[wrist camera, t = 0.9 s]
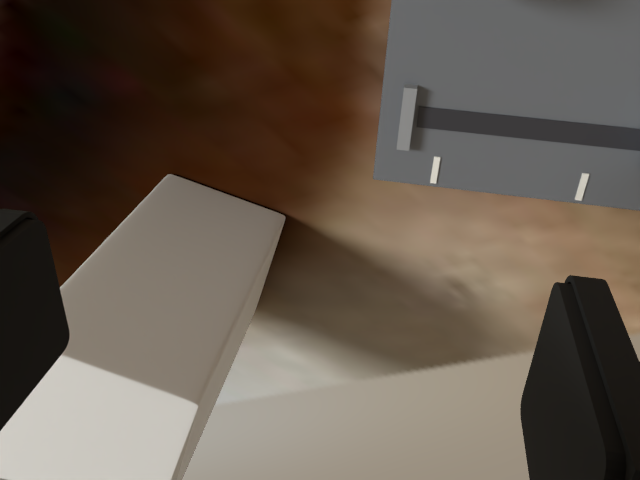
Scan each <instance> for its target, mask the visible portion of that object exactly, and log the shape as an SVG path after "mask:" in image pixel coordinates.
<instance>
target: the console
mask: <svg viewBox="0 0 640 480" xmlns="http://www.w3.org/2000/svg"><path fill="white" fill-rule="evenodd" d="M373 179H376V180H384V181H393V182H401V183H410V184H418V185H427V186H435V187H444V188H452V189H461V190H469V191H478V192H486V193H495V194H503V195H512V196H520V197H529V198H537V199H546V200H554V201H563V202H571V203H580V204H588V205H597V206H605V207H614V208H622V209H631V210H639V211H640V0H392V4H391V13H390V23H389V32H388V42H387V51H386V61H385V70H384V80H383V89H382V99H381V108H380V118H379V127H378V137H377V146H376V156H375V165H374V175H373Z"/></svg>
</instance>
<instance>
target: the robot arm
mask: <svg viewBox="0 0 640 480" xmlns="http://www.w3.org/2000/svg"><path fill="white" fill-rule="evenodd" d="M69 337H70V332H69V327H68V322H67V318H66V314H65V309H64V305H63V300H62V296H61V292H60V287H59V283H58V279H57V274H56V270H55V265H54V261H53V257H52V252H51V248H50V244H49V239H48V235H47V230H46V227H45V225H44V223H43V222H41V221H39V220H38V218H37V217H36V215H35V214H34V213H32V212H27V211H18V210H10V209H0V431H1V430H2V428H3V427H4V426H5V425H6V423H7V422H8V421H9V420H10V418H11V417H12V416H13V415H14V413H15V412H16V411H17V410H18V408H19V407H20V406H21V405H22V403H23V402H24V401H25V400H26V398H27V397H28V396H29V395H30V393H31V392H32V391H33V390H34V388H35V387H36V386H37V385H38V383H39V382H40V381H41V380H42V378H43V377H44V376H45V375H46V373H47V372H48V371H49V370H50V368H51V367H52V366H53V364H54V363H55V362H56V361H57V359H58V358H59V357H60V356H61V354H62V353H63V352H64V351H65V349H66V347H67V345H68V342H69ZM521 422H522V429H523V436H524V443H525V449H526V457H527V464H528V471H529V478H530V480H640V362H639V360H638V358H637V355H636V353H635V350H634V348H633V345H632V343H631V340H630V338H629V336H628V333H627V331H626V328H625V326H624V323H623V321H622V318H621V316H620V313H619V311H618V308H617V306H616V303H615V301H614V298H613V296H612V294H611V291H610V289H609V286H608V284H607V282H606V280H603V279H596V278H588V277H579V276H571V275H570V276H568V277H567V279H566V280H565V283H558V282H556V283H555V284H554V285H553V288H552V291H551V294H550V298H549V301H548V305H547V309H546V312H545V316H544V319H543V323H542V327H541V330H540V334H539V337H538V341H537V345H536V348H535V352H534V355H533V359H532V363H531V367H530V370H529V373H528V377H527V380H526V384H525V388H524V391H523V395H522V400H521ZM0 480H7V479H2V478H0Z"/></svg>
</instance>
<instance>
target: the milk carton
mask: <svg viewBox="0 0 640 480" xmlns="http://www.w3.org/2000/svg"><path fill="white" fill-rule="evenodd" d="M285 219H286V217H285V216H284V215H282V214H280V213H278V212H275V211H272V210H269V209H267V208H264V207H261V206H258V205H256V204H253V203H250V202H247V201H245V200H242V199H239V198H236V197H234V196H231V195H228V194H225V193H223V192H220V191H217V190H214V189H212V188H209V187H206V186H203V185H201V184H198V183H195V182H192V181H190V180H187V179H184V178H181V177H178V176H175V175H172V174H169V175H167V176H166V177H165V178H164V179H163V180H162V181H161V182H160V183H159V184H158V185H157V186H156V187H155V188H154V189H153V190H152V191H151V193H150V194H149V195H148V196H147V197H146V198H145V199H144V200H143V201H142V202H141V203H140V204H139V205H138V206H137V207H136V208H135V209H134V210H133V212H132V213H131V214H130V215H129V216H128V217H127V218H126V219H125V220H124V221H123V222H122V223H121V224H120V225H119V226H118V227H117V228H116V229H115V230H114V232H113V233H112V234H111V235H110V236H109V237H108V238H107V239H106V240H105V241H104V242H103V243H102V244H101V245H100V246H99V247H98V248H97V249H96V250H95V252H94V253H93V254H92V255H91V256H90V257H89V258H88V259H87V260H86V261H85V262H84V263H83V264H82V265H81V266H80V267H79V268H78V269H77V270H76V272H75V273H74V274H73V275H72V276H71V277H70V278H69V279H68V280H67V281H66V282H65V283H64V284H63V285H62V286H61V287H60V292H61V296H62V300H63V305H64V309H65V314H66V318H67V322H68V327H69V332H70V337H69V342H68V345H67V347H66V349H65V351H64V352H63V353H62V354H61V356H60V357H59V358H58V359H57V361H56V362H55V363H54V364H53V366H52V367H51V368H50V370H49V371H48V372H47V373H46V375H45V376H44V377H43V378H42V380H41V381H40V382H39V383H38V385H37V386H36V387H35V388H34V390H33V391H32V392H31V393H30V395H29V396H28V397H27V398H26V400H25V401H24V402H23V403H22V405H21V406H20V407H19V408H18V410H17V411H16V412H15V413H14V415H13V416H12V417H11V418H10V420H9V421H8V422H7V423H6V425H5V426H4V427H3V428H2V430H1V431H0V478H2V479H7V480H182V478H183V476H184V474H185V472H186V469H187V467H188V465H189V462H190V460H191V458H192V456H193V453H194V451H195V449H196V446H197V444H198V442H199V439H200V437H201V435H202V433H203V430H204V428H205V425H206V423H207V421H208V418H209V416H210V414H211V412H212V410H213V407H214V405H215V403H216V400H217V398H218V396H219V393H220V391H221V389H222V387H223V384H224V382H225V380H226V377H227V375H228V373H229V370H230V368H231V366H232V364H233V361H234V359H235V357H236V354H237V352H238V350H239V347H240V345H241V343H242V341H243V338H244V336H245V334H246V331H247V329H248V327H249V324H250V322H251V320H252V318H253V315H254V313H255V311H256V308H257V305H258V302H259V299H260V295H261V292H262V289H263V286H264V283H265V280H266V277H267V274H268V271H269V268H270V265H271V262H272V259H273V256H274V253H275V250H276V247H277V244H278V241H279V237H280V234H281V231H282V228H283V225H284V222H285Z"/></svg>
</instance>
